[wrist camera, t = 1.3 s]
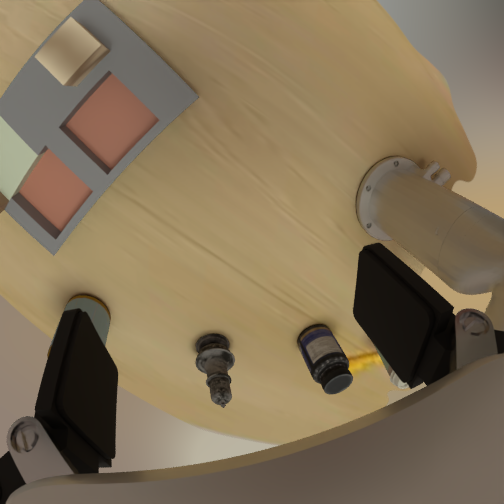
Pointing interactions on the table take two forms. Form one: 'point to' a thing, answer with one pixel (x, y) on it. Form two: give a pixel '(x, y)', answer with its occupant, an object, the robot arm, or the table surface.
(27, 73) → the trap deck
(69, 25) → the maple block
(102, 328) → the bottle
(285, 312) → the table surface
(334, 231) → the table surface
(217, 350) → the salt shaker
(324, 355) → the pill bottle
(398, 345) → the robot arm
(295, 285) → the table surface
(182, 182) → the table surface
